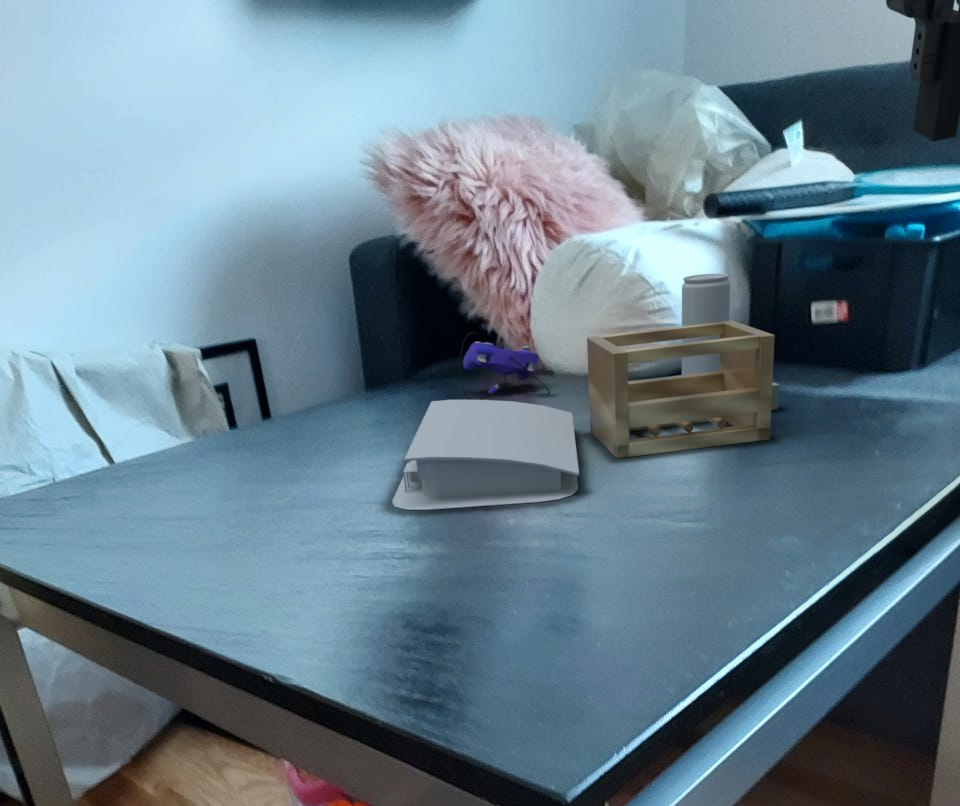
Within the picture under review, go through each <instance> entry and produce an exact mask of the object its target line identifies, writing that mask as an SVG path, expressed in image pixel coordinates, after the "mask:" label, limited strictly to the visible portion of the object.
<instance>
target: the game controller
mask: <svg viewBox="0 0 960 806" xmlns="http://www.w3.org/2000/svg"><path fill="white" fill-rule="evenodd" d="M471 334H476V335H478V336H480V337H481V338H482V339H483V340H485V342H481V341H475V342H472V344H470V346H469V348H468V350H467V351H466V353H465V355H464V357H463V360H462V353H463V348H464V344H465V341H466V339H467V337H468V336H469V335H471ZM530 350H531V347H530V346H528V345H524V346H522V347H521V349H520V350H511V349H505V348H499V347H498V346H497V345H494V343H492V342H489V341H488V340H487V339H486V338H485V337H484V336H483V335H481V334H480V333H478V332H476V331H471V332H469V333H467V334H466V336H465V338H464V339H463V341H462V344H461V350H460V357H459V374H460V375H459V377H460V385H461V388H462V391H463V393H464V395H465V396H466V398H468V400H473V398H470V397H469V396H468V395H467V393H466V391H465V389H464V385H463V379H462V363H463V369H464V370H465V371H471V370H474V369H477V368H484V369H491V370H492V371H494V372H496V373H498V374H499V375H502V376H503V379H504V382H502V383H501V384H500V383H496V384H495V385H493V386H492V387H491V388H490V389H489V390H488V393H487V394H486V395H485V396H483V397H481V398H479V399H478V400H485V398H487V397H488V396H490V395H491V396H493V395H494V394H495V393H496V392H497V391H498V390H499V388H500V387H501V386H502V387H505V386H506V385H509V386H515V387H517V388H521V389H524V390H528V391H531V392H535V393H539V394H541V392H539V391H536V390H532V389H529V388H526V387H522V386H519V385H516V384H512V383H508V382H506V376H509V375H514V374H516V377H517V379H518V380H519V381H524V380H526V379H529V378H530V376H532V377H533V378H535V379H536V380H537V381H538V382H539V383H541V385H543V387H545V389H546V390H547V393H545V392H542V394H543V395H544V394H545V395H549V394H550V392H551V391H550V390H549V388H548V387H547V386H546V385H545V384H544V383H543V382H542V381H541V380H540V379H539V378H538V377H536V375H534V373H535V372H536V370H537V368H538V367H537V366H538V363H539V362H538V361H539V354H538V353H534V352H533V351H530Z"/></svg>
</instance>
